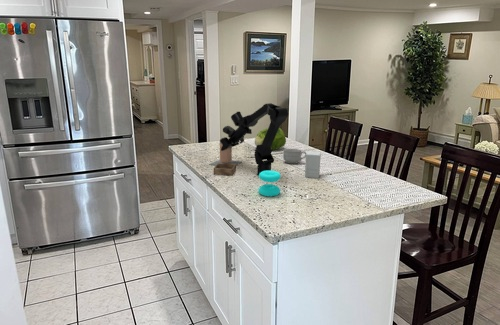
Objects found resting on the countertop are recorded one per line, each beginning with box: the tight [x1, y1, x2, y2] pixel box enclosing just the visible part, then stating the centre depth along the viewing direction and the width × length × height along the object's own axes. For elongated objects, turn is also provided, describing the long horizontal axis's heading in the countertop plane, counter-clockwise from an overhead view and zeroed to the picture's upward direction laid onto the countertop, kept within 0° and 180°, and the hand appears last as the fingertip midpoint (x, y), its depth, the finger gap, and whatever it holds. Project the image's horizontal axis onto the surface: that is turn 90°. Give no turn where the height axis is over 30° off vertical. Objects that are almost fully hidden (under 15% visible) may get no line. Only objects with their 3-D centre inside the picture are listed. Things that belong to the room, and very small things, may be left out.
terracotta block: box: [219, 141, 233, 163], centre depth 219 cm, size 5×5×13 cm
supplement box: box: [304, 150, 322, 179], centre depth 199 cm, size 7×7×13 cm
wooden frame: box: [213, 163, 237, 177], centre depth 203 cm, size 10×10×4 cm
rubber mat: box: [209, 159, 243, 167], centre depth 221 cm, size 14×14×1 cm
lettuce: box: [254, 127, 287, 151], centre depth 255 cm, size 16×21×15 cm
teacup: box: [282, 148, 307, 164], centre depth 224 cm, size 14×11×8 cm
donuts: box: [258, 169, 282, 197], centre depth 172 cm, size 10×10×10 cm
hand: (223, 149), depth 219 cm, fingers closed on terracotta block, 5 cm apart
